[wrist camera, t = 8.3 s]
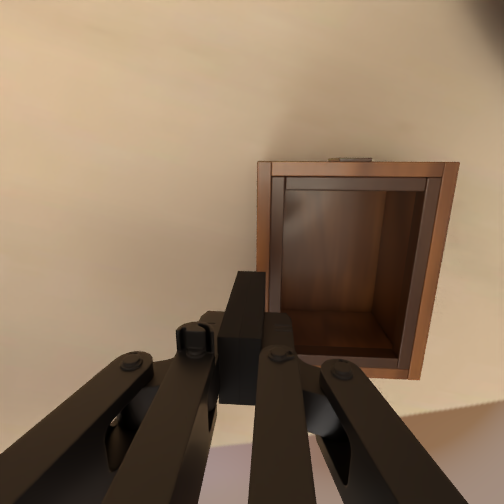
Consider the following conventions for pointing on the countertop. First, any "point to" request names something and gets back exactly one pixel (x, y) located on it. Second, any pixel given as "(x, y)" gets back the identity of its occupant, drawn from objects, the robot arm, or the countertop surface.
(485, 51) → the countertop surface
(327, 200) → the wooden storage crate
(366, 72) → the countertop surface
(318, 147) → the countertop surface
